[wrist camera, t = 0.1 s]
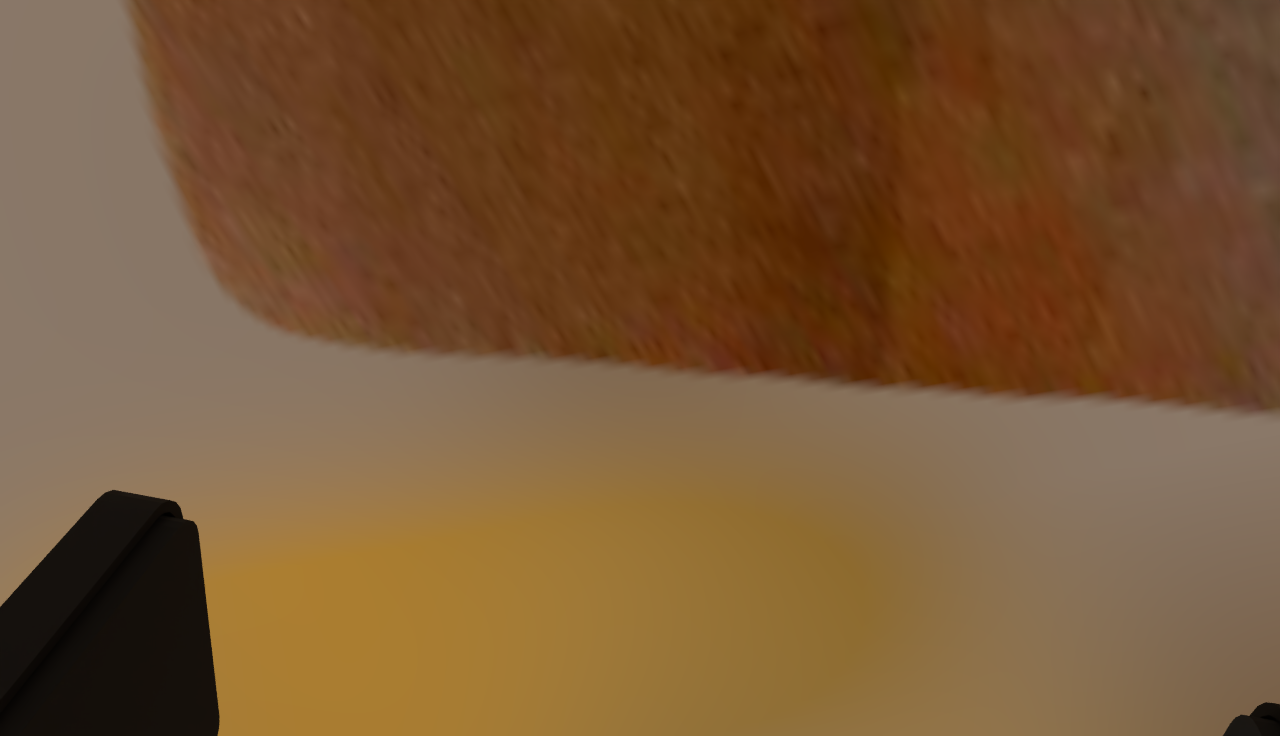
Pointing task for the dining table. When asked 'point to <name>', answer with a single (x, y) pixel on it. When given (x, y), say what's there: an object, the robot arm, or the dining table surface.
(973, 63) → the dining table surface
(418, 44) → the dining table surface
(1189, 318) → the dining table surface
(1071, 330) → the dining table surface
